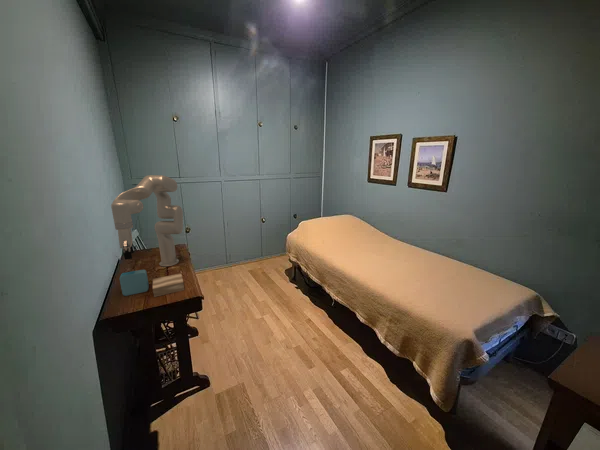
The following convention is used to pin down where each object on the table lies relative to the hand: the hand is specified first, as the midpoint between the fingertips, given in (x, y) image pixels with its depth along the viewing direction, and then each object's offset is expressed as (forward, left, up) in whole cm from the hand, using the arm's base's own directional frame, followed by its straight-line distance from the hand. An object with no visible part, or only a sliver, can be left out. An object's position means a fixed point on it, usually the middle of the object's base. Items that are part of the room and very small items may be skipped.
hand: (129, 256), depth 128 cm
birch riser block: (+5, +16, -22) cm, 27 cm away
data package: (0, 0, -22) cm, 22 cm away
